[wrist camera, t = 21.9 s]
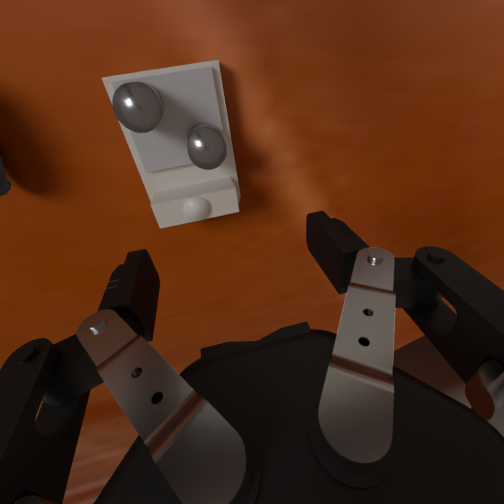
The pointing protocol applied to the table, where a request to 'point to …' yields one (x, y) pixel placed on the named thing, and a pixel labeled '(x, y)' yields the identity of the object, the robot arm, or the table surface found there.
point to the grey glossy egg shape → (138, 106)
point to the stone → (3, 179)
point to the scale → (183, 144)
